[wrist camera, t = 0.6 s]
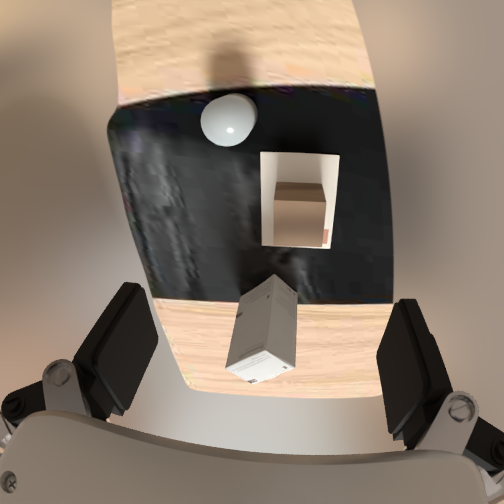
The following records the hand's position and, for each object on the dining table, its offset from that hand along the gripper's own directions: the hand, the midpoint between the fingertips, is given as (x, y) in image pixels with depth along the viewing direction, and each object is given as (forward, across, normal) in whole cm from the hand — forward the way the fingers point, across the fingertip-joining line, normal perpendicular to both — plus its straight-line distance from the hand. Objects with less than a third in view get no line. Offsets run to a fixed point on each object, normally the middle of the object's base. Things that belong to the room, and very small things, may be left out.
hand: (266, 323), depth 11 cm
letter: (+31, -2, +8) cm, 32 cm away
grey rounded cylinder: (+30, +6, -4) cm, 31 cm away
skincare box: (+32, +2, +24) cm, 40 cm away
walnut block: (+31, -2, +8) cm, 31 cm away
